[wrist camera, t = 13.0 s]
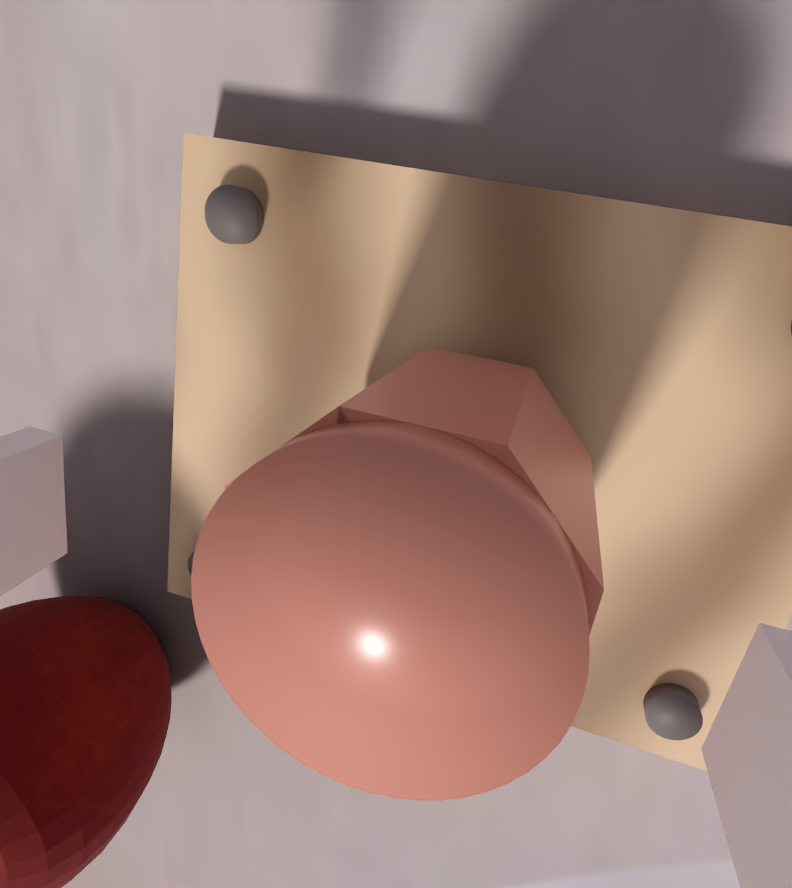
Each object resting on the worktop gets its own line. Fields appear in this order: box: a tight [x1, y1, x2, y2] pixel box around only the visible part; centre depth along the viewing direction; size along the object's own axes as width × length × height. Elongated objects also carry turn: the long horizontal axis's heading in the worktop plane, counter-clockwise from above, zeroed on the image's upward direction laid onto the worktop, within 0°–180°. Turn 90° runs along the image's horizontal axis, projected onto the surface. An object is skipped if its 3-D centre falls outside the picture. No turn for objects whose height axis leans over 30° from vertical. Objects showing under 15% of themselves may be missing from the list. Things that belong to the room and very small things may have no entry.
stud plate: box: [167, 133, 792, 771], centre depth 16 cm, size 20×16×8 cm
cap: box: [191, 347, 604, 800], centre depth 14 cm, size 7×7×8 cm
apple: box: [0, 596, 171, 888], centre depth 22 cm, size 10×10×10 cm
